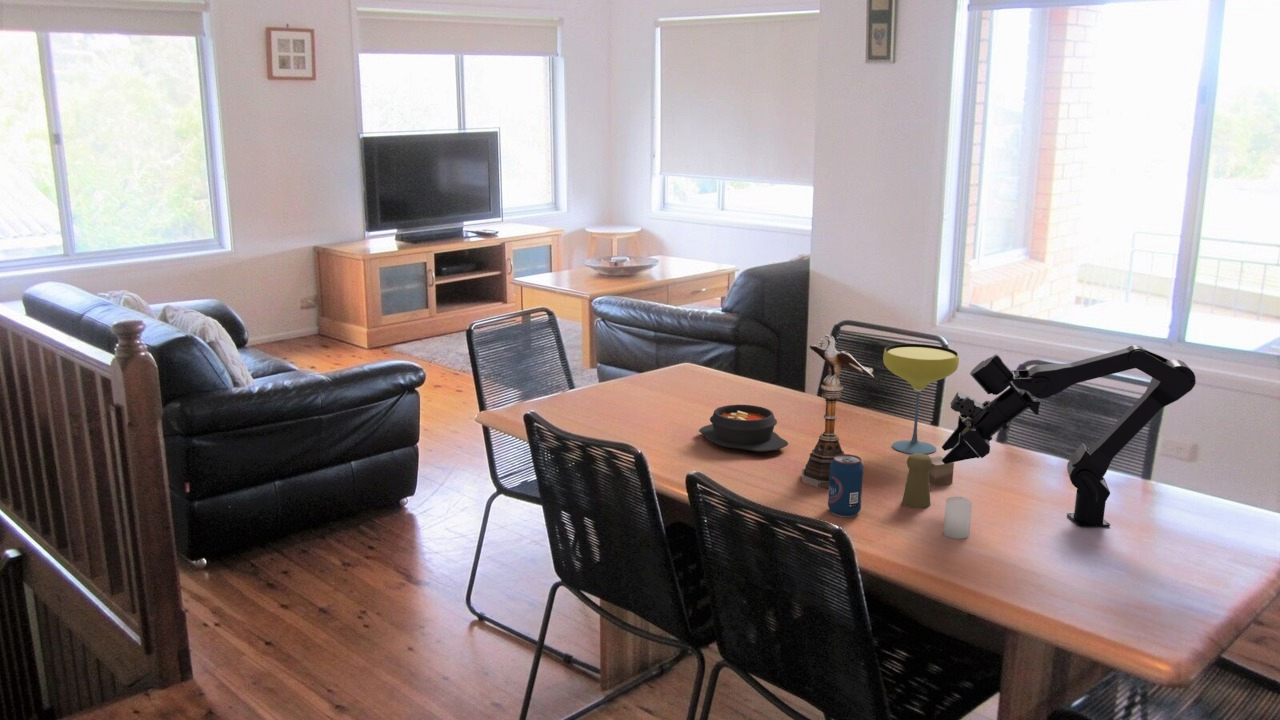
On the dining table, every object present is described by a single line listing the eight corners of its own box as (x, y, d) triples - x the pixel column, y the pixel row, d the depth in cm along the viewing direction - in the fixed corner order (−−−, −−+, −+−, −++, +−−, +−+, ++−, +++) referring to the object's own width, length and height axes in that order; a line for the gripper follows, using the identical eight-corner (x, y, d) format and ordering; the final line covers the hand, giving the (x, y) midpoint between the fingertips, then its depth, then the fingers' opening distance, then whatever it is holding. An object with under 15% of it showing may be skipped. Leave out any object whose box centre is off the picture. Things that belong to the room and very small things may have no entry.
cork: (931, 509, 226) (935, 460, 223) (902, 506, 227) (905, 458, 225) (929, 499, 232) (933, 451, 229) (901, 497, 233) (904, 449, 230)
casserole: (804, 449, 265) (805, 416, 263) (752, 464, 254) (753, 430, 252) (733, 425, 284) (734, 395, 282) (682, 438, 272) (683, 407, 270)
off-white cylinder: (972, 538, 211) (975, 505, 209) (948, 538, 211) (950, 505, 209) (964, 529, 216) (966, 496, 214) (939, 529, 215) (942, 496, 214)
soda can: (821, 508, 226) (824, 455, 223) (849, 504, 228) (852, 451, 225) (838, 520, 219) (841, 465, 217) (867, 516, 222) (870, 461, 219)
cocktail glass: (876, 455, 260) (883, 357, 255) (878, 434, 278) (884, 341, 272) (952, 462, 256) (961, 362, 251) (949, 440, 273) (957, 346, 268)
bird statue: (831, 462, 255) (839, 320, 247) (875, 476, 246) (885, 329, 237) (785, 476, 245) (792, 328, 237) (829, 492, 235) (837, 338, 227)
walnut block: (952, 483, 242) (954, 462, 241) (934, 486, 240) (936, 465, 239) (938, 476, 247) (940, 456, 246) (920, 479, 245) (922, 458, 244)
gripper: (975, 371, 229) (918, 415, 235) (978, 393, 212) (916, 440, 217) (1009, 409, 229) (952, 452, 234) (1015, 434, 211) (953, 480, 217)
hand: (943, 455), depth 226 cm, fingers open, 9 cm apart
